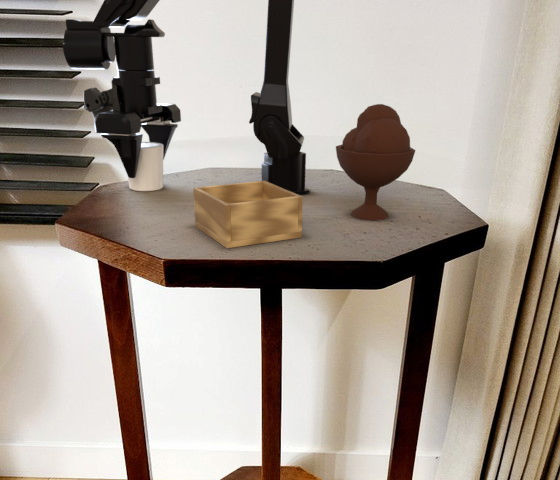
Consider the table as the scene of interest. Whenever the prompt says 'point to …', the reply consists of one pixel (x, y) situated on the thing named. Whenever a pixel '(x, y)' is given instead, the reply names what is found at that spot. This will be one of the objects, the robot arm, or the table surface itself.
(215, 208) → the box
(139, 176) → the white cup
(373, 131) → the ice cream bowl
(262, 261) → the table surface
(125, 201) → the table surface
